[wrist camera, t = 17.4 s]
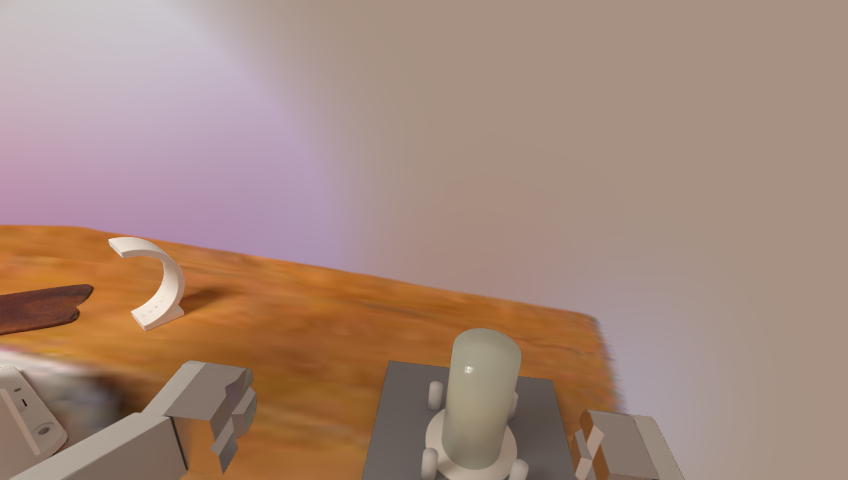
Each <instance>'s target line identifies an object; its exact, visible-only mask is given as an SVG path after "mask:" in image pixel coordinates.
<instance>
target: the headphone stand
mask: <svg viewBox="0 0 848 480" xmlns="http://www.w3.org/2000/svg"><path fill="white" fill-rule="evenodd" d="M109 244H110V246H111V247H112V248H113V249H114V250H115V251H116V252H117V253H118V254H119V255H120V256H121V257H122V258H127V257H133V256H150V257H155V258H158V259H160V260H161V261H162V263H163V267H164V278H163V282H162V284H161V287H160V288H159V290H158V291H157V293H156V294H155V295H154V296H153V297H152V298H151V299H150V300H149V301H148V302H147V303H145V304H144V305H142V306H141V307H139V308H137V309H135V310H133V311H131V313H132V316H133V317H134V319H135V320H136V321H137V322H138V323H139V324H140V326H141V327H142V328H143V329H144V330H145V331H147V330H150V329H152V328H154V327H157V326H159V325H161V324H164V323H166V322H169V321H171V320H173V319H176V318H178V317H181V316H183V315H184V310H183V309H182V308H181V307H180V306H179V305H178V304H179V302H180V300H181V298H182V295H183V292H184V286H185V280H184V275H183V272H182V270H181V268H180V266H179V265H178V264H177V263H176V262H175V261H174V260H173V259H172V258H171V257H170V256H169V255H167V254H166V253H165V252H164V251H163V250H162V249H160V248H159V247H158V246H156V245H155V244H153V243H151V242H149V241H147V240H144V239H140V238H133V237H120V238H113V239H109Z"/></svg>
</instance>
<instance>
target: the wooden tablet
mask: <svg viewBox="0 0 848 480" xmlns="http://www.w3.org/2000/svg"><path fill="white" fill-rule="evenodd" d="M92 289H93V288H92V286H90V285H88V284H82V285H72V286H63V287H56V288H48V289H42V290H35V291H27V292H20V293H13V294H6V295H0V334H7V333H15V332H22V331H29V330H35V329H42V328H47V327H53V326H58V325H62V324H67V323H71V322H73V321H74V320H75V319H76V318H77V316H78V313H79V310H78V309H77V308H76V307H77V306H78V305H80V304H82V303H83V302H84V301H85V300H86V299H87V298H88V297H89V295H90V293H91V292H92Z"/></svg>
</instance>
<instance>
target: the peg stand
mask: <svg viewBox="0 0 848 480" xmlns="http://www.w3.org/2000/svg"><path fill="white" fill-rule="evenodd" d="M449 373H450V368H446V367H438V366H430V365H421V364H413V363H405V362H396V361H389V364H388V369H387V373H386V377H385V381H384V386H383V390H382V394H381V399H380V403H379V407H378V411H377V416H376V420H375V424H374V429H373V433H372V437H371V441H370V446H369V450H368V454H367V459H366V463H365V467H364V471H363V476H362V480H577V479H576V476H575V474H574V469H573V465H572V458H571V454H570V450H569V446H568V442H567V438H566V434H565V430H564V426H563V422H562V418H561V414H560V410H559V406H558V402H557V398H556V394H555V390H554V386H553V382H552V380H547V379H538V378H530V377H522V376H518V378H517V382H516V387H515V391H514V395H513V400H512V404H511V408H510V413H509V417H508V421H507V426H506V430H505V434H504V439H503V443H502V447H501V452H500V455H499V457H498V459H497V460H496V462H495V463H494V464H492V465H491V466H489V467H487V468H485V469H480V470H471V469H466V468H463V467H461V466H459V465H457V464H456V463H454V462H453V461H452V460H451V459H450V458H449V457H448V456H447V455H446V453H445V451H444V449H443V446H442V441H441V437H442V429H443V421H444V413H445V405H446V397H447V389H448V381H449Z"/></svg>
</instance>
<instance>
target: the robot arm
mask: <svg viewBox="0 0 848 480" xmlns="http://www.w3.org/2000/svg"><path fill="white" fill-rule="evenodd" d="M252 381H253V375H252V370H251V369H248V368H242V367H235V366H228V365H222V364H215V363H207V362H200V361H193V360H190V361H188V362H186V363H184V364H183V365H182V366H181V367H180V368H179V370H178V371H177V372H176V373H175V374H174V375H173V376H172V378H171V379H170V380H169V381H168V382H167V383H166V385H165V386H164V387H163V388H162V389H161V390H160V392H159V393H158V394H157V395H156V396H155V397H154V398H153V400H152V401H151V402H150V403H149V404H148V405H147V407H146V408H145V409H144V410H143V411H142V412H141V413H133V414H131V415H129V416H127V417H125V418H123V419H122V420H120V421H118V422H116V423H114V424H112V425H110V426H108V427H107V428H105V429H103V430H101V431H99V432H97V433H95V434H93V435H91V436H90V437H88V438H86V439H84V440H82V441H80V442H78V443H76V444H75V445H73V446H71V447H69V448H67V449H65V450H63V451H61V452H59V453H58V454H56V455H54V456H52V455H53V454H54V453H55V452H56V451H57V450H58V449H59V448H60V447H61V446H62V445H63V444H64V443H65V441H66V440H67V437H68V434H67V432H66V431H65V430H64V429H63V427H62V426H61V425H60V423H59V422H58V421H57V420H56V418H55V417H54V416H53V414H52V413H51V412H50V411H49V409H48V408H47V407H46V405H45V404H44V403H43V402H42V400H41V399H40V398H39V396H38V395H37V394H36V393H35V391H34V390H33V389H32V387H31V386H30V385H29V384H28V382H27V381H26V380H25V378H24V377H23V376H22V375H21V373H20V372H19V371H18V370H17V369H16V368H15V367H0V480H179V479H181V478H182V477H183V476H184V475H186V474H187V471H191V472H201V473H210V474H220V475H223V474H224V472H225V470H226V469H227V467H228V465H229V463H230V461H231V460H232V458H233V456H234V454H235V452H236V451H237V449H238V448H237V443H236V439H237V438H239V437H240V436H242V435H243V434H245V433H246V432H247V431H248V429H249V427H250V425H251V423H252V421H253V418H254V414H255V411H256V403H257V398H256V393H255V391H254V390H253V389H252V388H251V387H250V385H251V383H252ZM580 424H581V428H582V429H580V430H579V431H577V432H575V434H574V437H573V441H572V450H571V457H572V465H573V469H574V474H575V476H576V477H577V478H578V479H579V480H685V479H684V477H683V475H682V473H681V471H680V469H679V467H678V465H677V463H676V461H675V459H674V457H673V455H672V453H671V451H670V449H669V447H668V445H667V443H666V441H665V439H664V437H663V435H662V433H661V431H660V429H659V427H658V425H657V423H656V421H655V420H654V419H653V418H652V417H647V416H639V415H630V414H629V415H627V414H623V413H614V412H605V411H596V410H587V409H585V410H584V411H583V412H582V414H581V417H580ZM51 456H52V457H51ZM49 457H50V458H49Z"/></svg>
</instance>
